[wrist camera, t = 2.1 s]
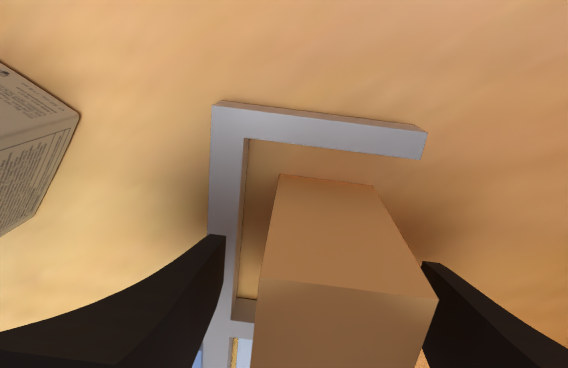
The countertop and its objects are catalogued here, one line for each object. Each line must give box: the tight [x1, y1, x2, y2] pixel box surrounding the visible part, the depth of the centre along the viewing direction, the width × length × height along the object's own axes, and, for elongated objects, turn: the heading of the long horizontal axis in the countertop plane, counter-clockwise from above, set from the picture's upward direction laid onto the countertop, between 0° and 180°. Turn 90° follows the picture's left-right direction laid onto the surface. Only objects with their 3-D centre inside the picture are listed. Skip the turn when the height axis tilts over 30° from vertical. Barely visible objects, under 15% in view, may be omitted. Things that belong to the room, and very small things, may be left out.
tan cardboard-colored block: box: [250, 174, 439, 368], centre depth 11 cm, size 4×5×7 cm
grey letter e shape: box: [192, 101, 428, 368], centre depth 15 cm, size 8×20×2 cm, turn 173°
